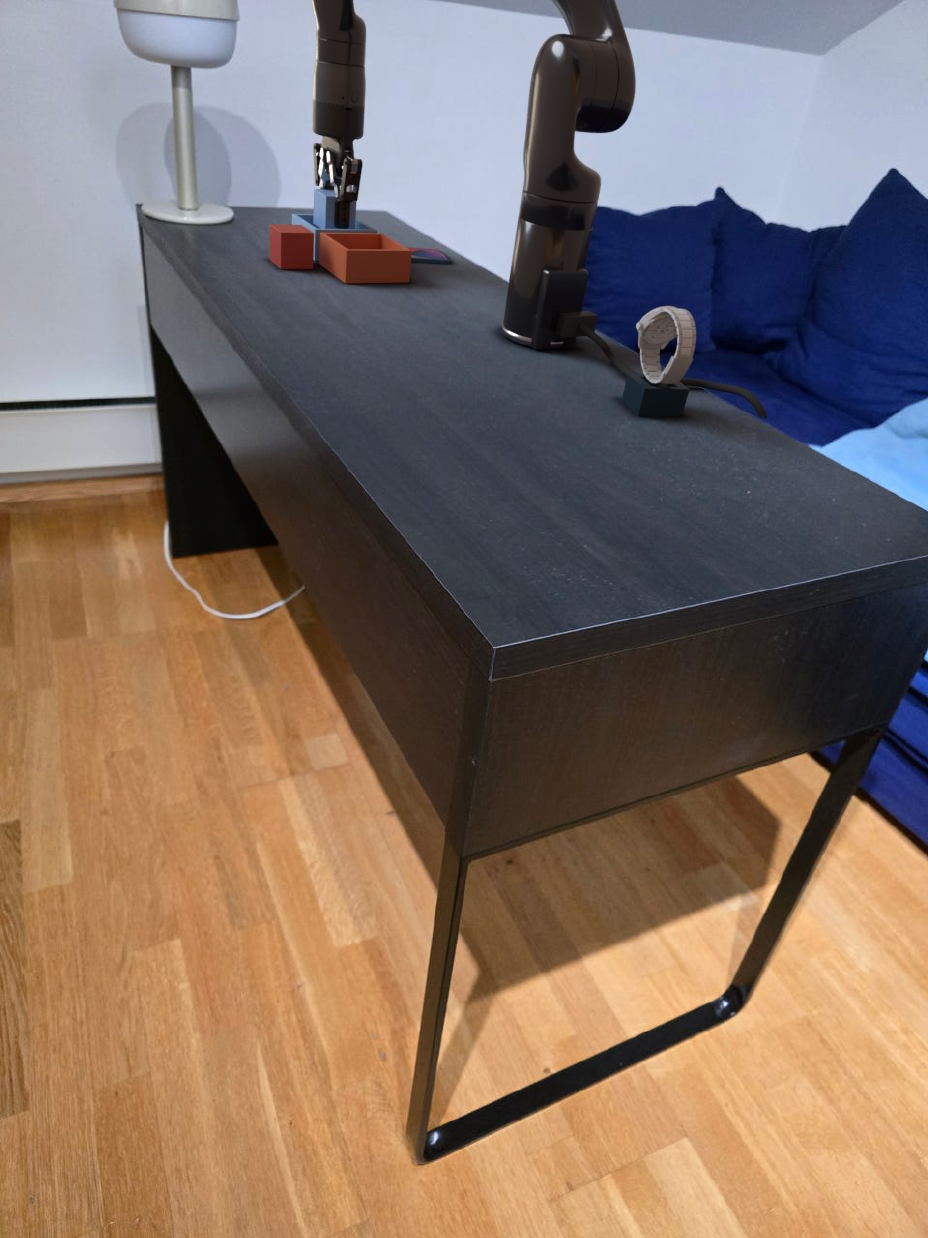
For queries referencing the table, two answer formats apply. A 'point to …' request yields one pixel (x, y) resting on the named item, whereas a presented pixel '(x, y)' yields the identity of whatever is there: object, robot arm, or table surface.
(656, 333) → the watch
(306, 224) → the blue bin
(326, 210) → the blue block
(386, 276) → the orange bin
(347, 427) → the table surface
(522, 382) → the table surface
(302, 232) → the red block
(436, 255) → the smartphone
